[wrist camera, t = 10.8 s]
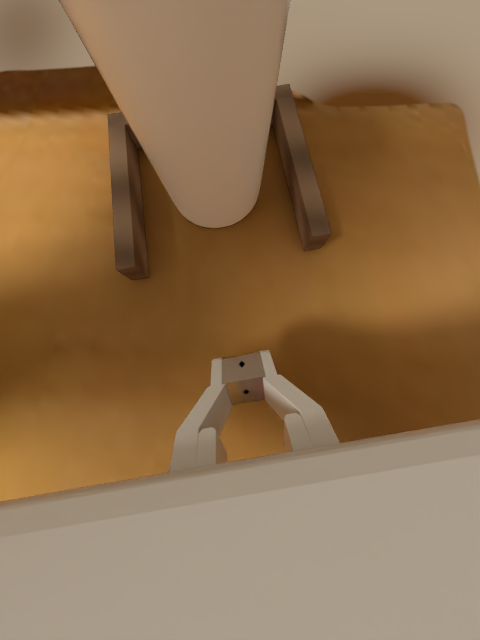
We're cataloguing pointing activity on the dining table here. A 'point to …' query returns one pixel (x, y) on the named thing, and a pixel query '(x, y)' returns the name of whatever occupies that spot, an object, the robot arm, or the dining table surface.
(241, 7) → the candle holder
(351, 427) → the dining table surface
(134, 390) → the dining table surface
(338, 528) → the robot arm
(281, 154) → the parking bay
